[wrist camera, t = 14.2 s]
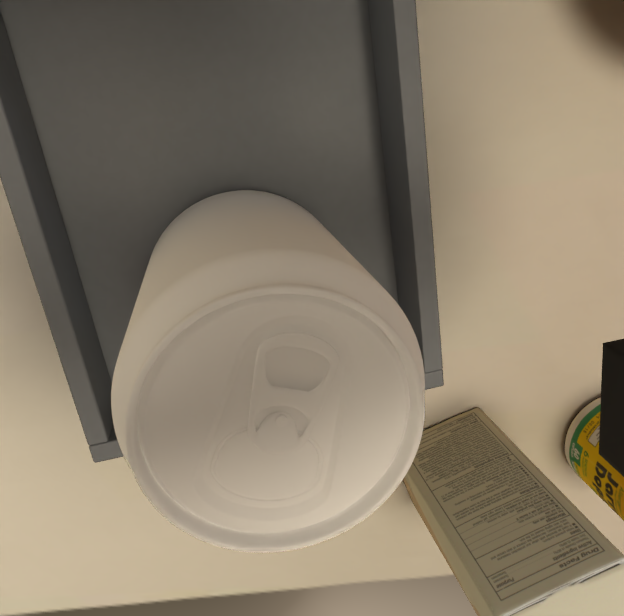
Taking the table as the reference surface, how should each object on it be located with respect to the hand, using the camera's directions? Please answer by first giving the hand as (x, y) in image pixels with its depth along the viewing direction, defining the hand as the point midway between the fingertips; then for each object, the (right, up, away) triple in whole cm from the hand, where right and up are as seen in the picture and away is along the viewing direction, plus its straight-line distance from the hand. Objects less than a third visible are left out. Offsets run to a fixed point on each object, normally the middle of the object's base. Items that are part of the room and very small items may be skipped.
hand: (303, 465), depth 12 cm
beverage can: (-3, +4, +13) cm, 14 cm away
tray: (-3, +8, +13) cm, 15 cm away
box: (+7, -4, +19) cm, 21 cm away
